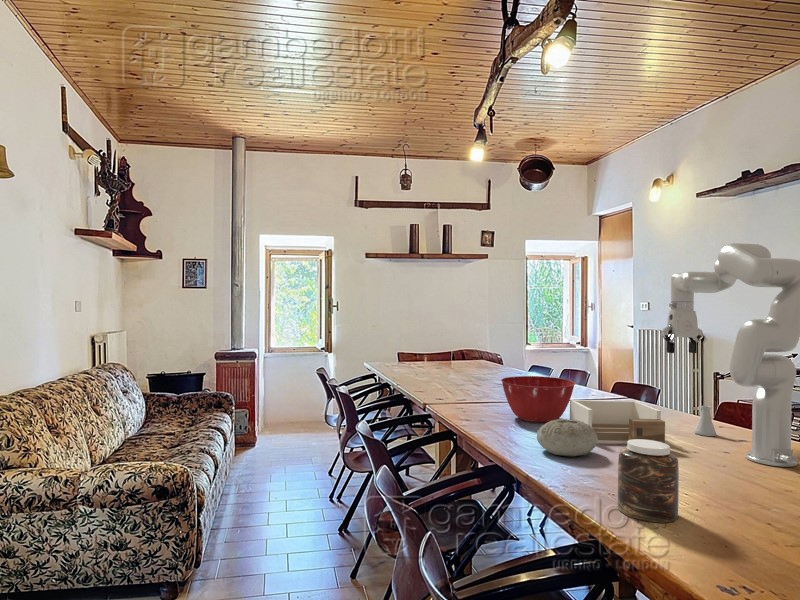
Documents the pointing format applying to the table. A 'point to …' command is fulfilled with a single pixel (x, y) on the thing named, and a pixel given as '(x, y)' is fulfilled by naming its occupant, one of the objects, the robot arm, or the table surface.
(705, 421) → the flask
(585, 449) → the decorative shell
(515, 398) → the mixing bowl
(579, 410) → the open white box
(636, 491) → the jar
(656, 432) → the cardboard box
